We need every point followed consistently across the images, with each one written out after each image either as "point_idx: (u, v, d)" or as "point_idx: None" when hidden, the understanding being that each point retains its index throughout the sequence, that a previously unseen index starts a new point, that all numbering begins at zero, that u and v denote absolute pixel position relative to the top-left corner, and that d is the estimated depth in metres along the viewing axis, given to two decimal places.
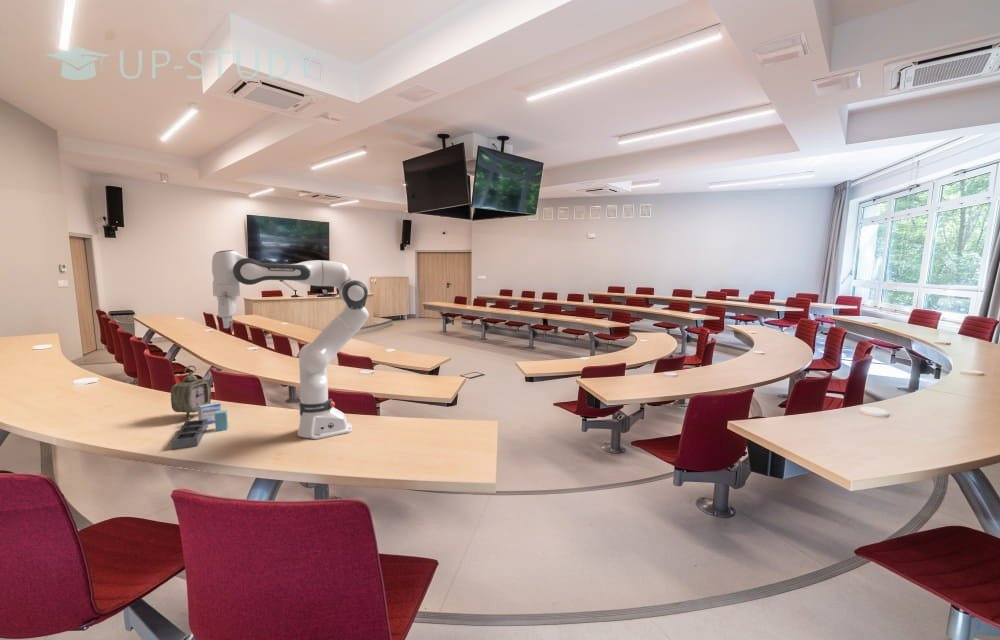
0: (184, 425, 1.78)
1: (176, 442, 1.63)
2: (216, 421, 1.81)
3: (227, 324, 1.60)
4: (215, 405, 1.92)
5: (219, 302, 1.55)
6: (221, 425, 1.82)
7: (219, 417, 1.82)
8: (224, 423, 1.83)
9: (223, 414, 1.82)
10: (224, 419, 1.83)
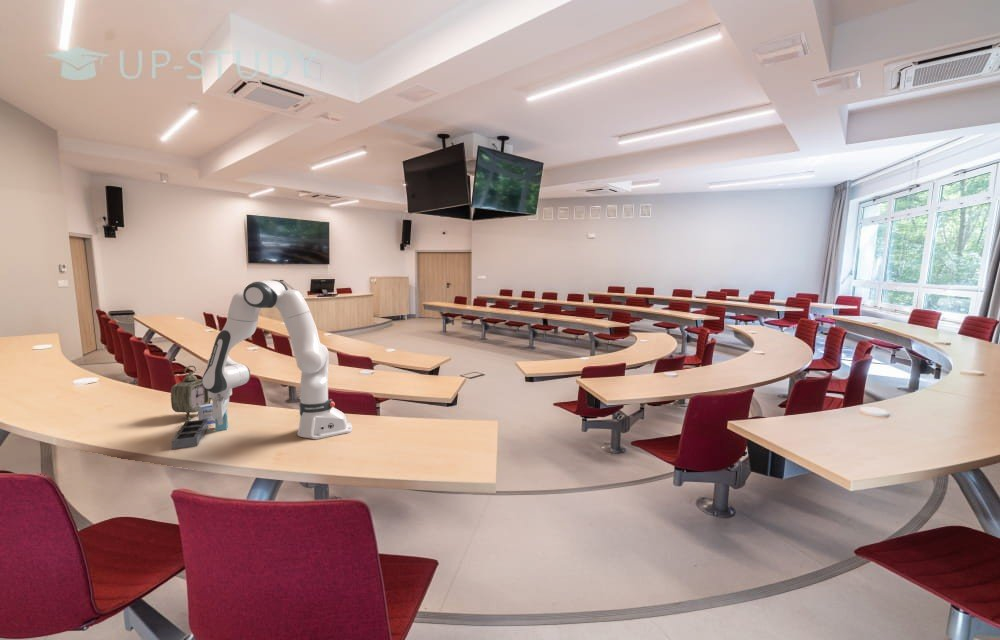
0: (184, 425, 1.78)
1: (176, 442, 1.63)
2: (216, 421, 1.81)
3: (221, 421, 1.81)
4: None
5: (213, 406, 1.74)
6: (221, 425, 1.82)
7: None
8: (224, 423, 1.83)
9: None
10: (224, 419, 1.83)
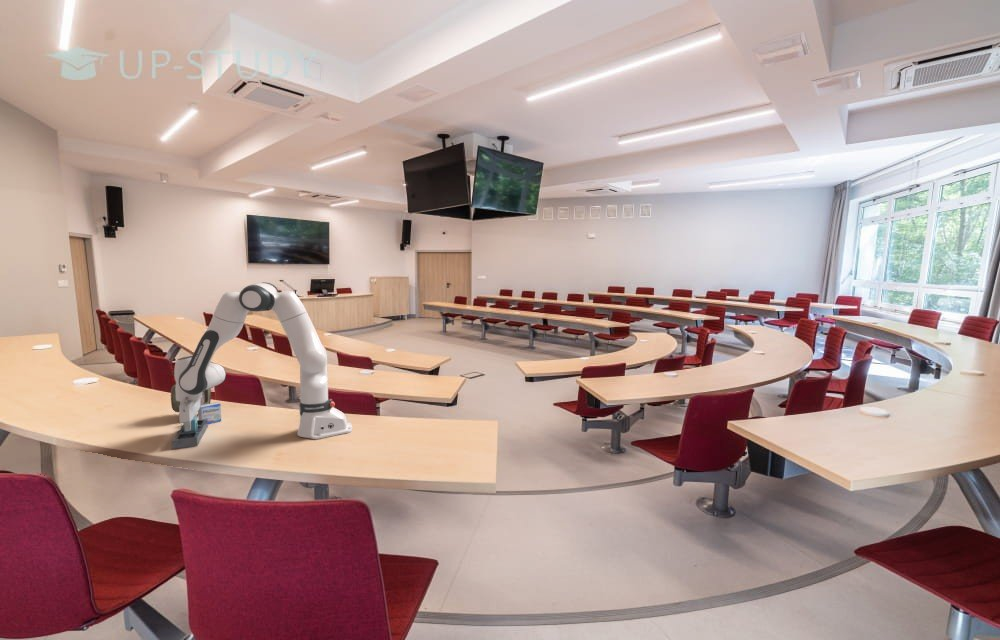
0: None
1: (176, 442, 1.63)
2: None
3: (189, 427, 1.69)
4: (215, 405, 1.92)
5: (180, 410, 1.64)
6: None
7: None
8: None
9: (192, 421, 1.72)
10: (193, 427, 1.73)
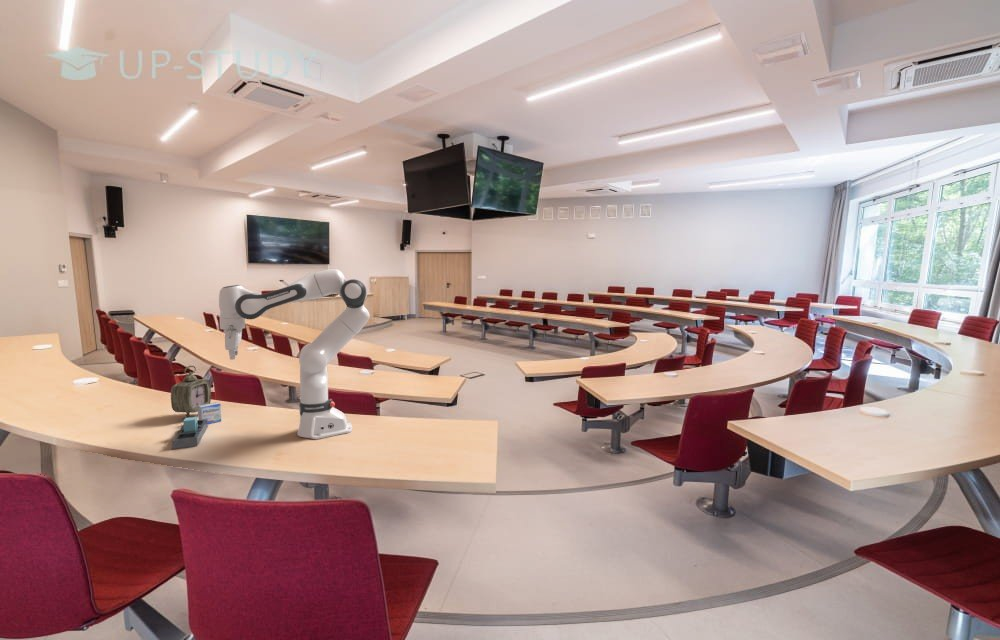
0: None
1: (176, 442, 1.63)
2: (185, 429, 1.72)
3: (233, 356, 1.69)
4: (215, 405, 1.92)
5: (226, 336, 1.63)
6: None
7: (188, 425, 1.72)
8: None
9: (192, 421, 1.72)
10: (193, 427, 1.73)
